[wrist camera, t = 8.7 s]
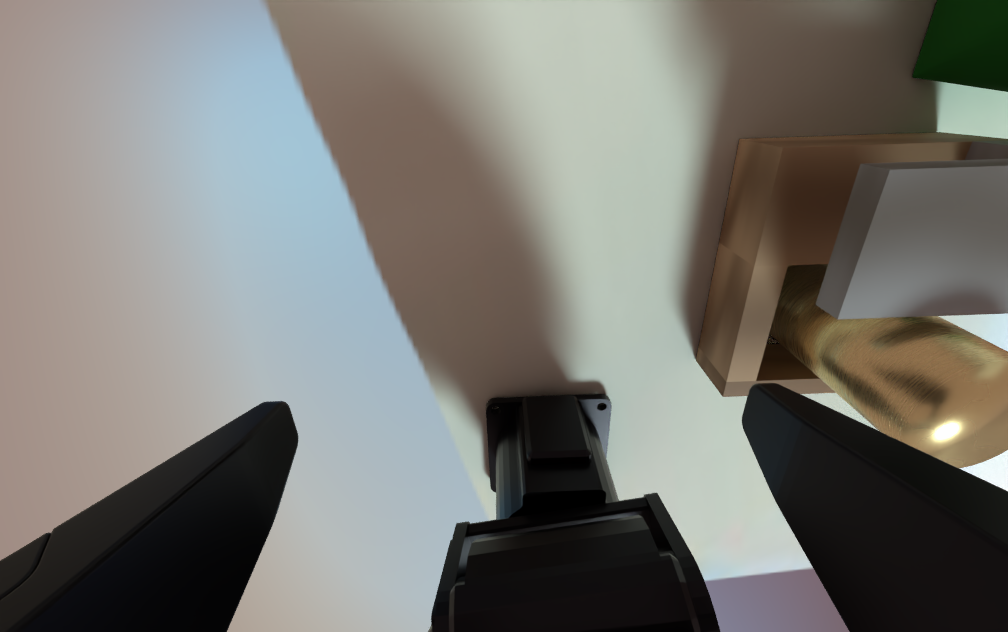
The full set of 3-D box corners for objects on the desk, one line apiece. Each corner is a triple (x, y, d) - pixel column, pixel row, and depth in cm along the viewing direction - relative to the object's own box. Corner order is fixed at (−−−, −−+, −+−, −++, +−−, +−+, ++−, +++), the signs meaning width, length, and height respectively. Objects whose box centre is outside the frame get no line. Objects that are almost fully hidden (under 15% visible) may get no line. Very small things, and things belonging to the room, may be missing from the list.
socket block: (852, 354, 23) (1005, 467, 16) (695, 360, 23) (782, 476, 16) (938, 132, 18) (1208, 159, 11) (739, 138, 18) (890, 169, 11)
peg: (847, 251, 20) (1081, 358, 12) (821, 329, 22) (1010, 467, 14) (759, 254, 20) (935, 364, 12) (740, 332, 22) (883, 472, 14)
